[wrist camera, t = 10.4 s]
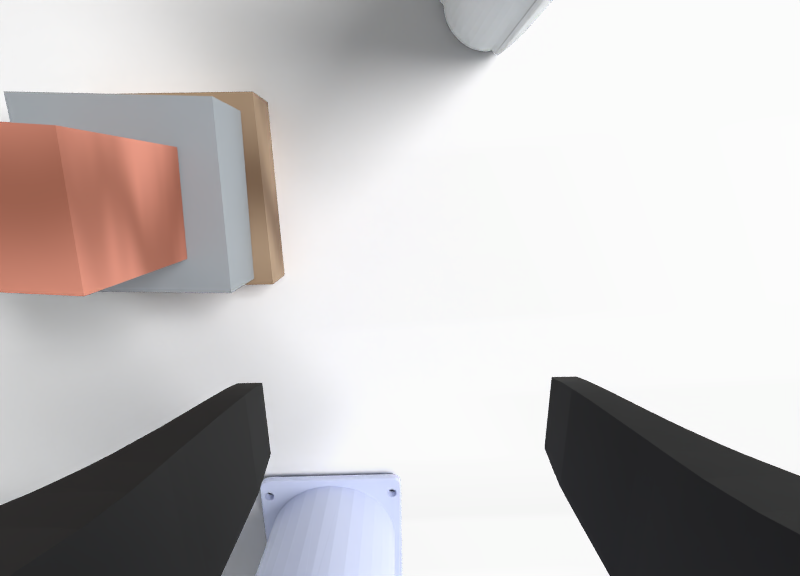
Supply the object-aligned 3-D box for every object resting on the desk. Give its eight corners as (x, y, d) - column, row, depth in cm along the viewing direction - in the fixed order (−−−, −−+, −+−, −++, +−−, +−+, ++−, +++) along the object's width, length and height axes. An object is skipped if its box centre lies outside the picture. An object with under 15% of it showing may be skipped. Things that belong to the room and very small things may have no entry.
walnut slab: (287, 272, 20) (273, 284, 17) (131, 276, 20) (95, 288, 17) (271, 105, 18) (252, 91, 15) (98, 108, 18) (51, 95, 15)
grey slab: (254, 278, 17) (231, 292, 15) (97, 276, 17) (47, 290, 15) (240, 110, 15) (212, 96, 13) (65, 106, 15) (3, 91, 13)
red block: (187, 258, 14) (83, 295, 10) (78, 253, 14) (-82, 288, 9) (177, 147, 13) (55, 125, 8) (59, 139, 13) (-132, 113, 8)
